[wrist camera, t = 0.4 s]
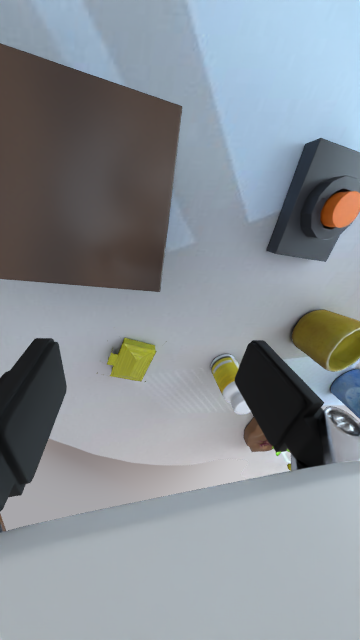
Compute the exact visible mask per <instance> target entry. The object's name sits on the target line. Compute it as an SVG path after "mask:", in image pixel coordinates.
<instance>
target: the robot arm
mask: <svg viewBox="0 0 360 640" xmlns="http://www.w3.org/2000/svg"><path fill="white" fill-rule="evenodd" d="M235 384H236V386H237V388H238V390H239V391H240V393H241V395H242V397H243V398H244V400H245V402H246V404H247V406H248V407H249V409H250V411H251V413H252V414H253V416H254V418H255V420H256V421H257V423H258V425H259V427H260V428H261V430H262V432H263V434H264V435H265V437H266V439H267V441H268V442H269V444H270V445H272V446H273V447H274V449H275V451H276V453H277V452H283V451H286V450H287V449H289V450H290V452H291V471H289V472H284V473H279V474H273V475H268V476H263V477H258V478H253V479H248V480H243V481H238V482H233V483H228V484H223V485H218V486H213V487H208V488H203V489H198V490H193V491H188V492H183V493H178V494H173V495H168V496H163V497H158V498H153V499H149V500H144V501H139V502H134V503H129V504H124V505H120V506H114V507H110V508H105V509H100V510H95V511H91V512H85V513H81V514H77V515H72V516H68V517H63V518H59V519H54V520H50V521H45V522H41V523H36V524H32V525H28V526H23V527H19V528H16V529H12V530H8V531H6V529H5V526H4V523H3V521H2V517H1V514H0V640H360V422H359V421H358V420H356V419H355V418H354V417H353V416H352V415H350V414H349V413H347V412H346V411H344V410H342V409H339V408H336V407H331V406H330V407H326V408H325V409H324V411H323V410H322V408H321V406H322V405H323V404H324V402H323V401H322V400H321V399H320V398H319V397H318V396H317V395H316V394H315V393H314V392H313V391H312V390H311V389H310V388H309V386H308V385H307V384H306V383H305V382H304V381H303V380H302V379H301V378H300V377H299V376H298V375H297V374H296V373H295V372H294V371H293V370H292V369H291V368H290V367H289V366H288V365H287V364H286V363H285V362H284V361H283V360H282V359H281V358H280V357H279V356H278V355H277V354H276V353H275V352H274V350H273V349H272V348H271V347H270V346H269V345H268V344H267V343H266V342H265V341H262V340H254V341H252V342H251V343H249V344H248V346H247V349H246V351H245V354H244V356H243V359H242V361H241V364H240V366H239V369H238V371H237V373H236V376H235ZM66 387H67V386H66V380H65V375H64V370H63V365H62V360H61V354H60V349H59V344H58V342H54V340H53V339H51V338H36V339H35V340H33V342H32V343H31V344H30V346H29V347H28V348H27V349H26V351H25V352H24V353H23V355H22V356H21V357H20V358H19V360H18V361H17V362H16V364H15V365H14V366H13V367H12V369H11V370H10V371H8V372H6V373H4V374H3V375H2V377H1V378H0V511H1V510H2V509H3V508H4V505H5V503H6V501H7V499H8V497H12V496H18V495H21V494H22V492H23V490H24V487H25V484H27V483H30V482H31V481H32V479H33V477H34V475H35V472H36V470H37V467H38V464H39V462H40V459H41V456H42V454H43V451H44V449H45V446H46V443H47V441H48V438H49V436H50V433H51V430H52V428H53V425H54V423H55V420H56V417H57V415H58V412H59V409H60V407H61V404H62V402H63V399H64V396H65V393H66Z"/></svg>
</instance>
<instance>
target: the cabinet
mask: <svg viewBox="0 0 360 640" xmlns="http://www.w3.org/2000/svg"><path fill="white" fill-rule="evenodd" d="M181 114H182V106H180V105H177V104H174V103H171V102H168V101H165V100H163V99H160V98H157V97H154V96H151V95H148V94H145V93H142V92H139V91H136V90H134V89H131V88H128V87H125V86H122V85H119V84H116V83H113V82H110V81H108V80H105V79H102V78H99V77H96V76H93V75H90V74H87V73H84V72H82V71H79V70H76V69H73V68H70V67H67V66H64V65H61V64H58V63H55V62H53V61H50V60H47V59H44V58H41V57H38V56H35V55H32V54H29V53H27V52H24V51H21V50H18V49H15V48H12V47H9V46H6V45H3V44H1V43H0V279H10V280H22V281H34V282H46V283H58V284H70V285H82V286H94V287H106V288H118V289H130V290H143V291H155V292H160V288H161V279H162V271H163V263H164V255H165V246H166V238H167V230H168V222H169V213H170V205H171V197H172V189H173V180H174V172H175V164H176V156H177V147H178V139H179V131H180V123H181Z"/></svg>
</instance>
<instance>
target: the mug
mask: <svg viewBox="0 0 360 640" xmlns="http://www.w3.org/2000/svg"><path fill="white" fill-rule="evenodd" d="M292 340H293V343H294V345H295V346H296V347H297V348H298V349H300V350H301V351H303V352H304V353H306V354H307V355H308V356H309V357H310V358H312V359H313V360H314V361H315V362H317V363H318V364H319V365H320V366H322V367H323V368H324V369H326V370H328V371H332V372H335V371H341V370H343V369H345V368H347V367H349V366H350V365H352V364H353V363H355V362H356V361H357V360H358V359H359V358H360V321H357V320H355V319H352V318H349V317H345V316H342V315H339V314H336V313H333V312H330V311H327V310H315V311H312V312H309V313H308V314H306V315H304V316H303V317H302V318H301V319H300V320H299V322H298V323H297V325H296V326H295V327H294V329H293V333H292Z"/></svg>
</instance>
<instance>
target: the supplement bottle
mask: <svg viewBox="0 0 360 640" xmlns="http://www.w3.org/2000/svg"><path fill="white" fill-rule="evenodd" d="M239 366H240V365H239V363H238V362H237V361H236V359H235V358H234V357H233V356H232V355H228V354H225V355H221V356H218V357H217V358H215V359H214V360H213V362H212V364H211V367H210V368H211V372H212V374H213V376H214V378H215V380H216V383H217V385H218V387H219V389H220V391H221V393H222V395H223V397H224V399H225V400H226V401H227V402H228V403H231V405H232V407H233V409H234V411H235V413H236V414H239V415H244V414H248V413H250V412H251V411H250V409H249V407H248V406H247V404H246V402H245V400H244V398H243V397H242V395H241V393H240V391H239V390H238V388H237V386H236V384H235V376H236V373H237V371H238V369H239Z"/></svg>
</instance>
